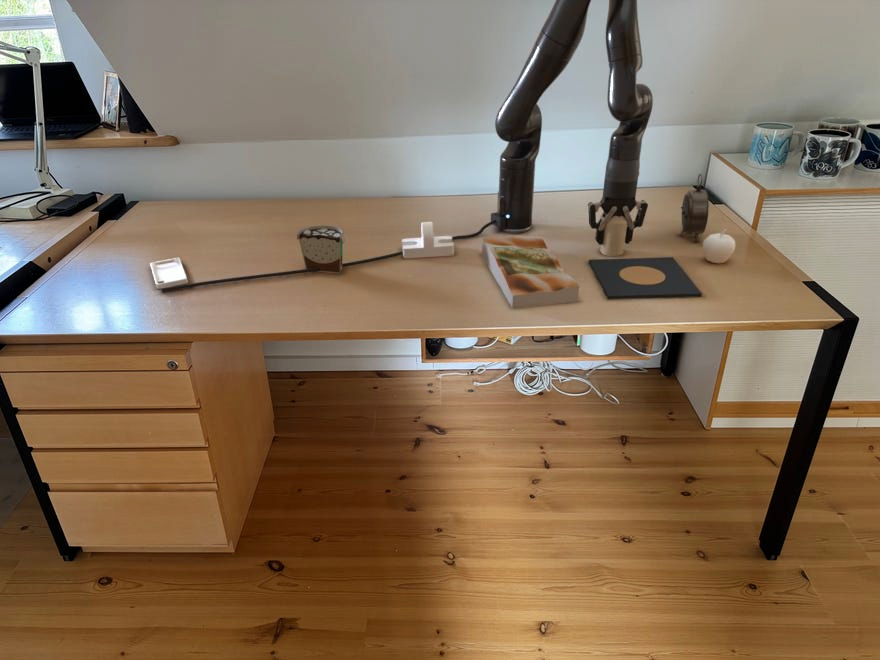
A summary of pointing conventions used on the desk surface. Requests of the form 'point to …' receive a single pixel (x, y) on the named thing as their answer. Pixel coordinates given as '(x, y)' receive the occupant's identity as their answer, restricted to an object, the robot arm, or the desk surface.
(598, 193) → the desk surface
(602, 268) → the mat
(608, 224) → the candle
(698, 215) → the alarm clock
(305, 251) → the food container
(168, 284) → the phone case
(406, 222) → the desk surface
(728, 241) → the plain white apple
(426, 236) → the slotted bracket
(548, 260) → the topographic model
